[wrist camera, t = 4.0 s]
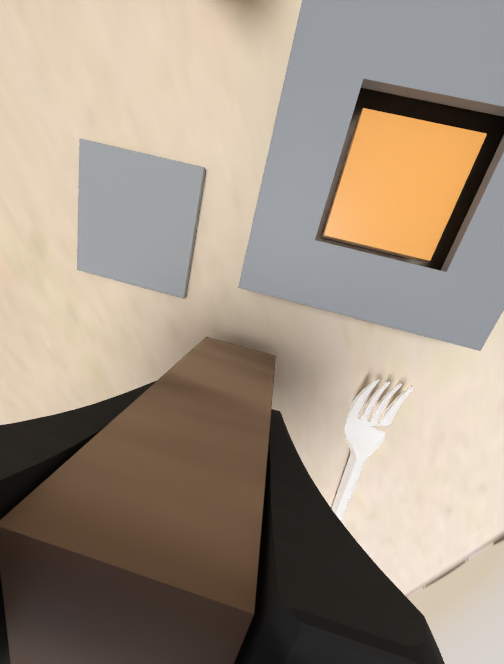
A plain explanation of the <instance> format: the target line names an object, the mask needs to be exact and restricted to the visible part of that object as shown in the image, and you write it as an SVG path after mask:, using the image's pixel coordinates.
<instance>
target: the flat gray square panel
mask: <svg viewBox="0 0 504 664" xmlns="http://www.w3.org/2000/svg"><path fill="white" fill-rule="evenodd" d="M205 174H206V169H205V168H204V167H200V166H196V165H192V164H187V163H183V162H179V161H174V160H170V159H166V158H162V157H157V156H153V155H149V154H144V153H140V152H136V151H131V150H127V149H123V148H118V147H114V146H110V145H106V144H101V143H97V142H93V141H88V140H84V139H80V148H79V199H78V250H77V270H79V271H83V272H87V273H91V274H94V275H98V276H102V277H106V278H109V279H113V280H117V281H120V282H124V283H128V284H132V285H135V286H139V287H143V288H146V289H150V290H154V291H158V292H161V293H165V294H169V295H172V296H176V297H180V298H186V294H187V287H188V281H189V275H190V268H191V262H192V256H193V249H194V243H195V237H196V231H197V224H198V218H199V212H200V205H201V199H202V193H203V186H204V180H205Z"/></svg>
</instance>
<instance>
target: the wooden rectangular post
mask: <svg viewBox="0 0 504 664" xmlns="http://www.w3.org/2000/svg"><path fill="white" fill-rule="evenodd" d="M275 358H276V356H274V355H270V354H267V353H263V352H259V351H256V350H252V349H249V348H245V347H241V346H238V345H234V344H231V343H227V342H223V341H220V340H216V339H213V338H209V337H206V338H205V339H204V340H203V341H201V342H200V343H199V344H198V345H197V346H196V347H195V348H194V349H192V350H191V351H190V352H189V353H188V354H187V355H186V356H185V357H183V358H182V359H181V360H180V361H179V362H178V363H177V364H176V365H174V366H173V367H172V368H171V369H170V370H169V371H168V372H167V373H165V374H164V375H163V376H162V377H161V378H160V379H159V380H158V381H156V382H155V383H154V384H153V385H152V386H151V387H150V388H149V389H147V390H146V391H145V392H144V393H143V394H142V395H141V396H140V397H138V398H137V399H136V400H135V401H134V402H133V403H132V404H131V405H129V406H128V407H127V408H126V409H125V410H124V411H123V412H122V413H120V414H119V415H118V416H117V417H116V418H115V419H114V420H113V421H111V422H110V423H109V424H108V425H107V426H106V427H105V428H104V429H102V430H101V431H100V432H99V433H98V434H97V435H96V436H94V437H93V438H92V439H91V440H90V441H89V442H88V443H87V444H85V445H84V446H83V447H82V448H81V449H80V450H79V451H78V452H76V453H75V454H74V455H73V456H72V457H71V458H70V459H69V460H67V461H66V462H65V463H64V464H63V465H62V466H61V467H60V468H58V469H57V470H56V471H55V472H54V473H53V474H52V475H51V476H49V477H48V478H47V479H46V480H45V481H44V482H43V483H42V484H40V485H39V486H38V487H37V488H36V489H35V490H34V491H33V492H31V493H30V494H29V495H28V496H27V497H26V498H25V499H24V500H22V501H21V502H20V503H19V504H18V505H17V506H16V507H15V508H13V509H12V510H11V511H10V512H9V513H8V514H7V515H6V516H4V517H3V518H2V519H1V520H0V573H1V582H2V591H3V600H4V609H5V618H6V627H7V636H8V645H9V654H10V663H11V664H234V662H235V660H236V657H237V655H238V652H239V650H240V648H241V645H242V643H243V640H244V638H245V635H246V633H247V630H248V628H249V626H250V623H251V621H252V618H253V616H254V610H255V598H256V586H257V574H258V562H259V550H260V538H261V526H262V514H263V502H264V490H265V478H266V466H267V454H268V442H269V430H270V418H271V406H272V394H273V382H274V370H275Z"/></svg>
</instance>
